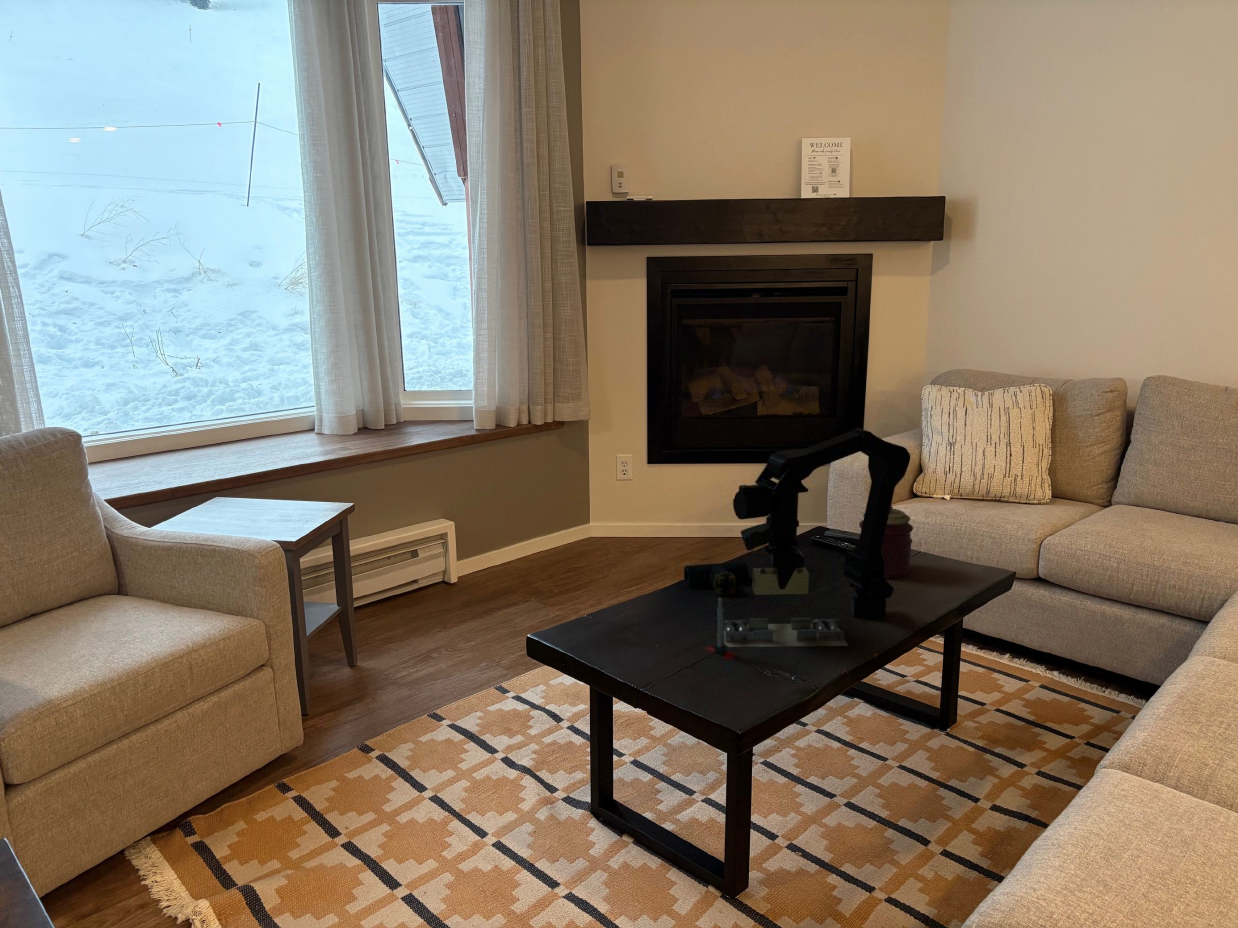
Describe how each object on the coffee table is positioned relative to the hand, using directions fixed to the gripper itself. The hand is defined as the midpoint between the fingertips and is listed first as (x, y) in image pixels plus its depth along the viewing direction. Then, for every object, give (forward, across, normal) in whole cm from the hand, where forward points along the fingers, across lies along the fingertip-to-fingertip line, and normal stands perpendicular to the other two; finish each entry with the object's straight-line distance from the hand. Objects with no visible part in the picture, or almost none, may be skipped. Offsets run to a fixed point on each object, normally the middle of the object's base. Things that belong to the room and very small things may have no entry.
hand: (780, 585), depth 186 cm
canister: (+11, -39, +32) cm, 52 cm away
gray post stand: (+12, +14, -15) cm, 24 cm away
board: (+11, +2, 0) cm, 11 cm away
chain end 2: (+10, +2, +7) cm, 13 cm away
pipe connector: (+12, -27, -10) cm, 31 cm away
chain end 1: (+10, +2, -7) cm, 12 cm away
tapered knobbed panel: (+1, 0, 0) cm, 1 cm away
